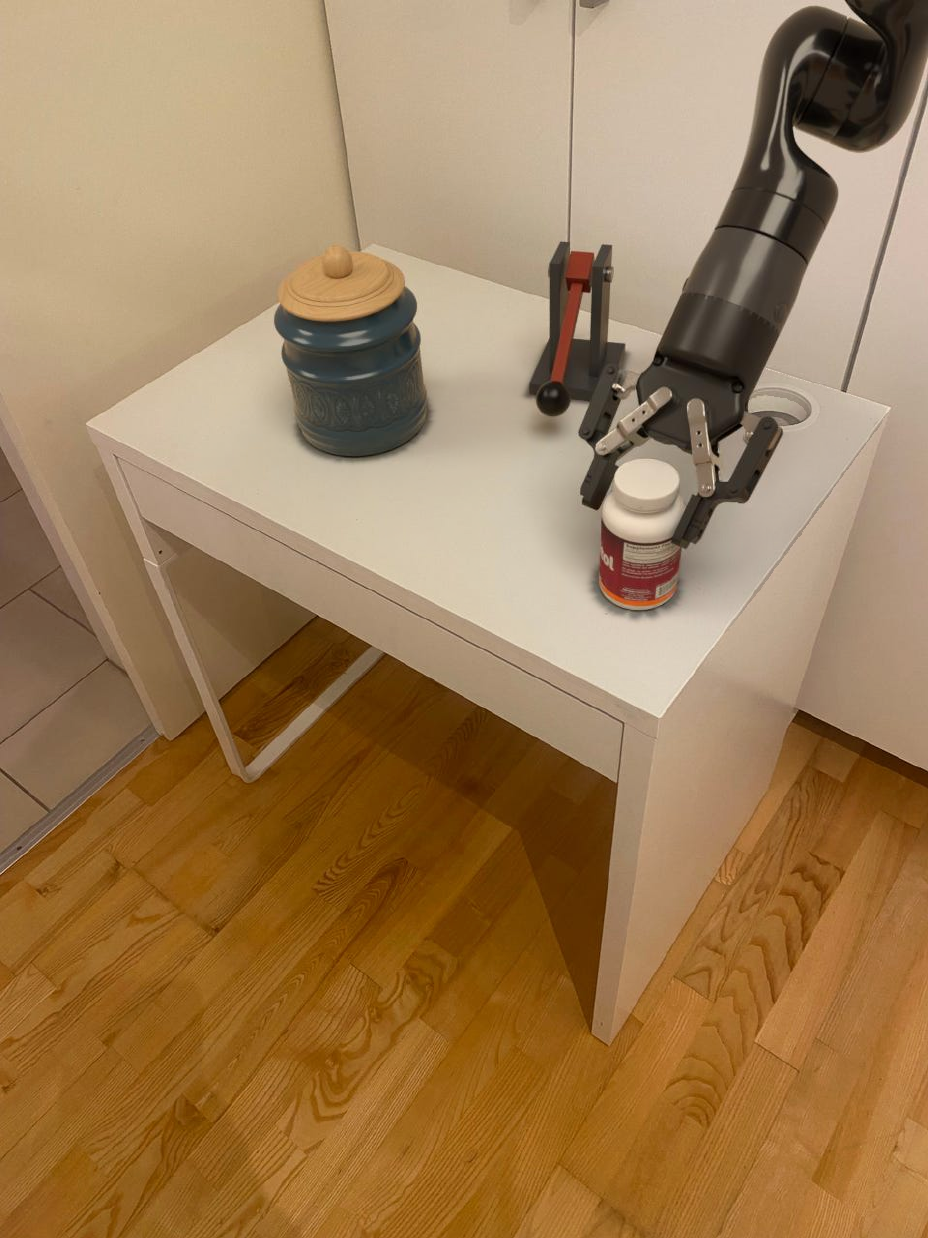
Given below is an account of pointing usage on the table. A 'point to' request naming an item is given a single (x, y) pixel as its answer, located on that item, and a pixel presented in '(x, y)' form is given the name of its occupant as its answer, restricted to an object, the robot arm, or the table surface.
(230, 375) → the table surface
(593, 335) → the bracket
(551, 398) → the lever
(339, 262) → the canister
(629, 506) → the pill bottle
